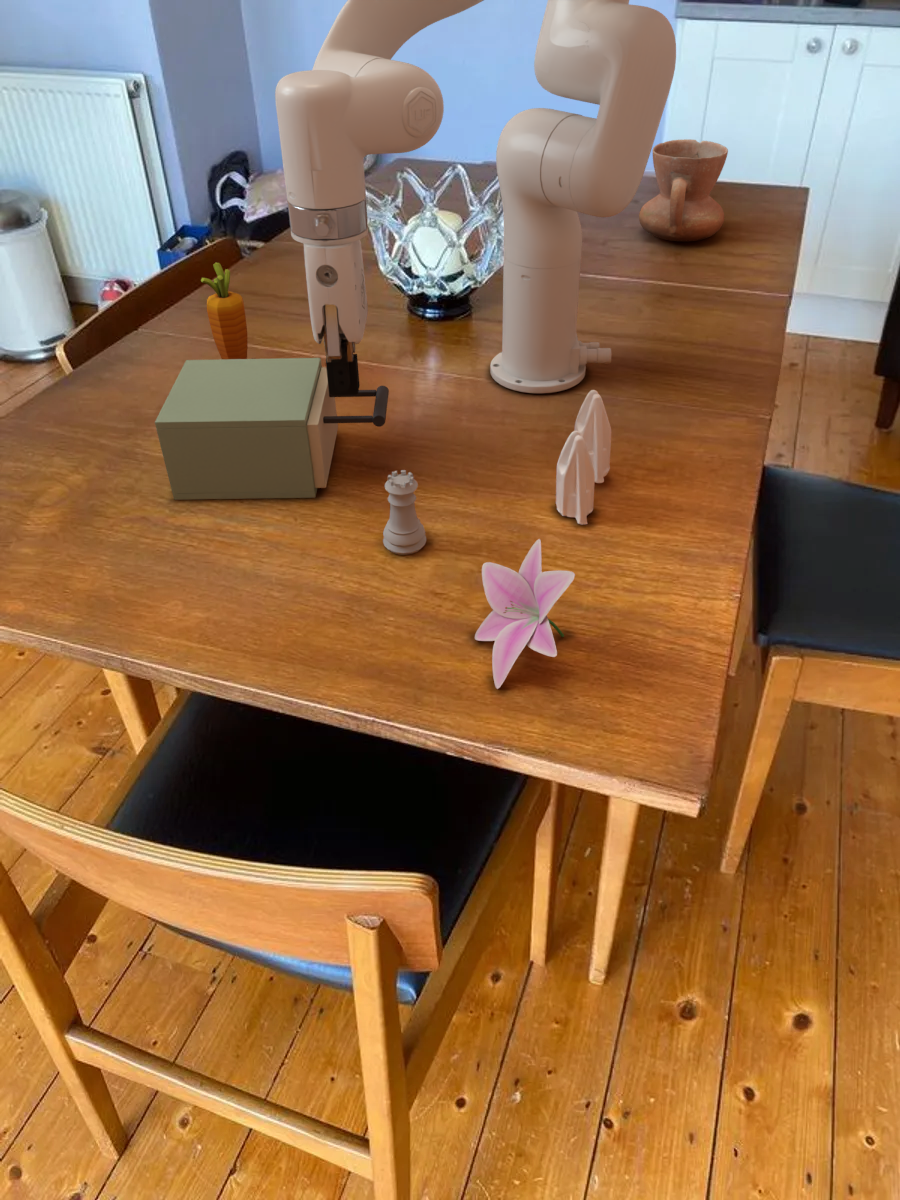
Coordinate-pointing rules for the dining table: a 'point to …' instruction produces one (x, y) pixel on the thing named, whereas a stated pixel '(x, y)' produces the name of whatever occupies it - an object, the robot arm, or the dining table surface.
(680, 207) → the ceramic jug
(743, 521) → the dining table surface
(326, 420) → the drawer
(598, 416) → the shaker set
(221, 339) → the carrot
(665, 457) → the dining table surface
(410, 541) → the rook chess piece
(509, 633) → the lily
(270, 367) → the cabinet
